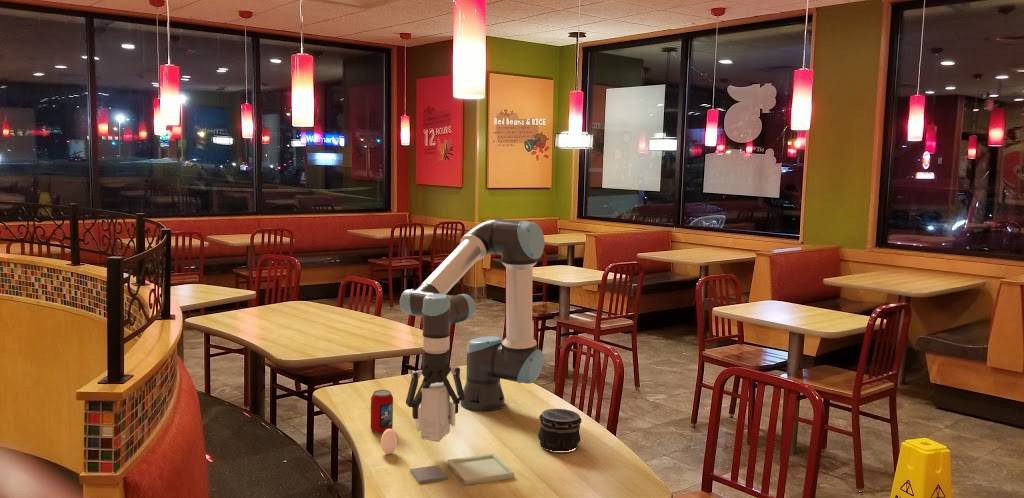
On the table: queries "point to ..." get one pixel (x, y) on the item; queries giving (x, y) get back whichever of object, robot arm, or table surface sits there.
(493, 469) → the tray
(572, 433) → the container
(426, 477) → the pad
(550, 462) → the table surface
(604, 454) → the table surface
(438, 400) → the skincare box
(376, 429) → the beverage can
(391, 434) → the egg
